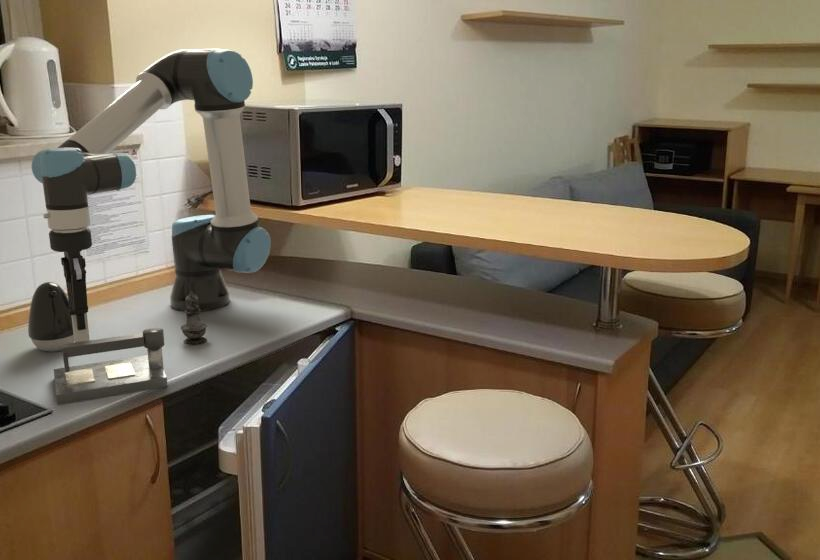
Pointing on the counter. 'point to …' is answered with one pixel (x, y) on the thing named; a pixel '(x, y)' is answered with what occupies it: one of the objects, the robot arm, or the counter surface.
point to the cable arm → (113, 344)
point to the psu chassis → (110, 378)
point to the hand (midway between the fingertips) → (82, 343)
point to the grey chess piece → (193, 322)
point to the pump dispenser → (50, 318)
